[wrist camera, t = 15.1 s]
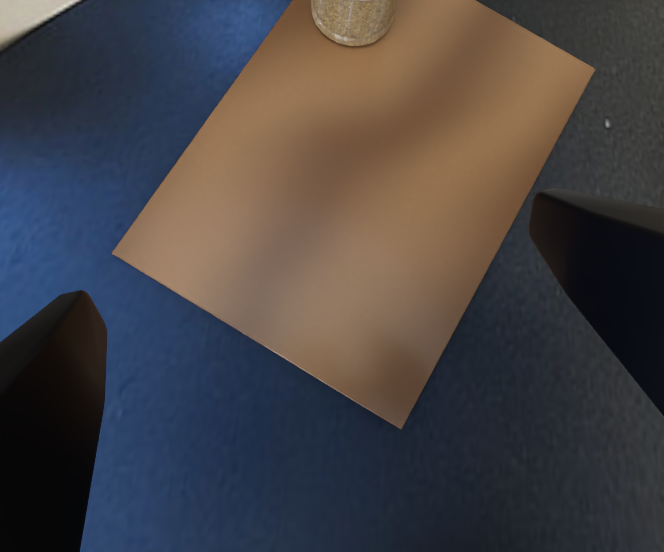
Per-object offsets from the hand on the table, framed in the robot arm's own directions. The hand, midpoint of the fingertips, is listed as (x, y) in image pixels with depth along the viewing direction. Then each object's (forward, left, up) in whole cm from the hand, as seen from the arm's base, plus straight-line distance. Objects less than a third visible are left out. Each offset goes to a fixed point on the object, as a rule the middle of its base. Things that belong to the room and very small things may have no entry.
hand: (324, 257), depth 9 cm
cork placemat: (+2, -9, -14) cm, 16 cm away
